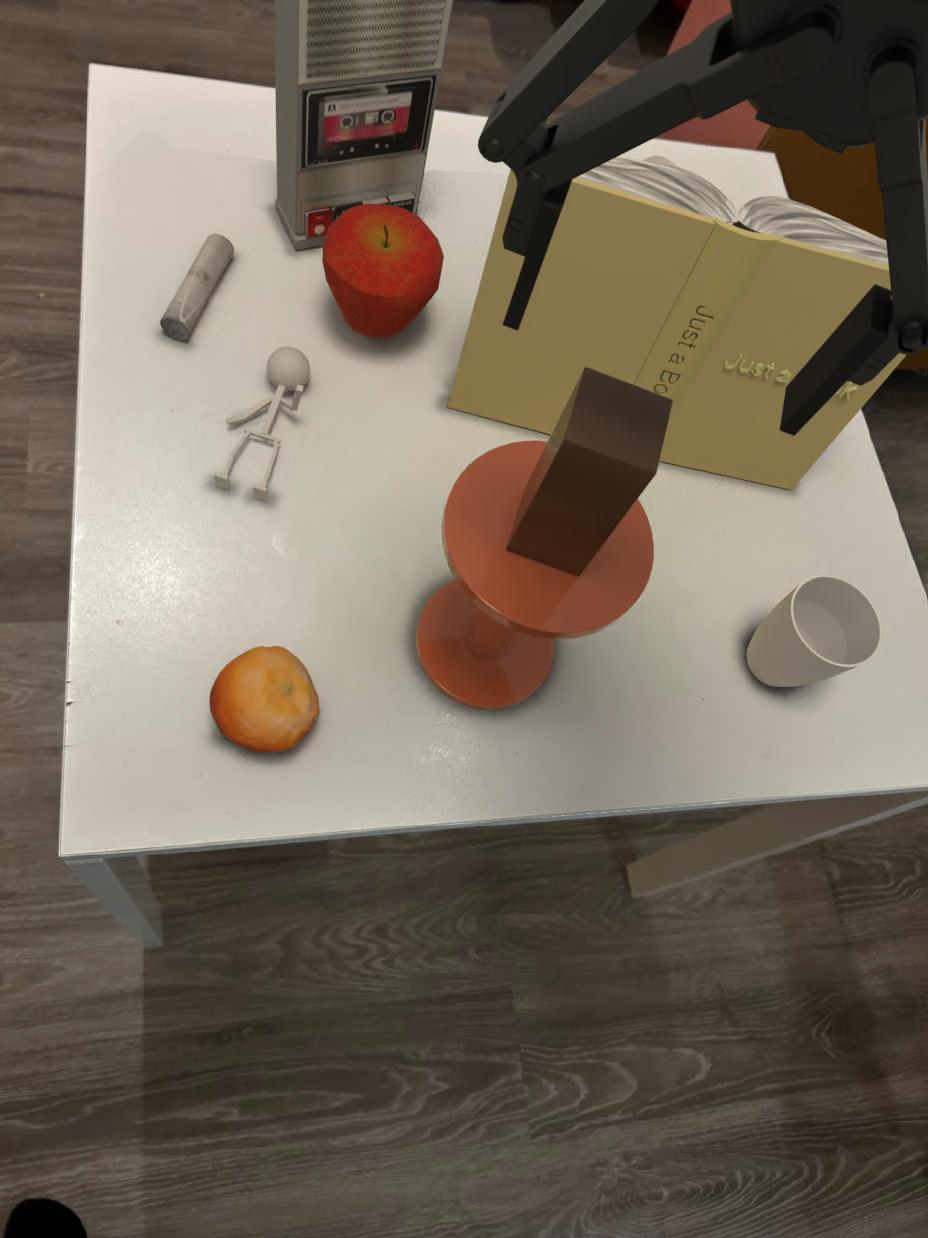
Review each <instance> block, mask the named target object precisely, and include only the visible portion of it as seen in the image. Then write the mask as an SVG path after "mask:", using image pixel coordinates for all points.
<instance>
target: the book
mask: <svg viewBox="0 0 928 1238" xmlns="http://www.w3.org/2000/svg"><path fill="white" fill-rule="evenodd" d="M643 160H644V159H642V160H641V159H634V158H626V157H625V158H624V157H616V158H614V159H612V160H610V161H608V162H606V163H604V164H602V165H600V166H598V167H596V168H594V169H592V170H590V171H588V172H586V173H584V174H582V175H580V176H578V177H576V178H574V179H573V180H572V182H571V185H570V188H569V191H568V194H567V197H566V199H565V202H564V205H563V208H562V211H561V214H560V216H559V219H558V222H557V225H556V227H555V230H554V233H553V236H552V238H551V241H550V244H549V247H548V249H547V252H546V255H545V258H544V260H543V263H542V266H541V269H540V272H539V274H538V277H537V280H536V283H535V285H534V288H533V291H532V294H531V296H530V299H529V302H528V305H527V307H526V310H525V313H524V316H523V319H522V321H521V324H520V327H519V330H518V331H517V330H514V329H512V328H509V327H506V326H504V325H503V322H504V319H505V316H506V313H507V310H508V307H509V304H510V301H511V298H512V295H513V292H514V289H515V286H516V283H517V280H518V277H519V274H520V271H521V268H522V265H523V262H524V259H525V257H524V256H521V255H519V254H516V253H514V252H511V251H508V250H506V249H504V246H503V239H502V236H503V233H504V230H505V226H506V223H507V219H508V216H509V213H510V209H511V206H512V202H513V199H514V196H515V192H516V189H517V179H516V176H515V174H514V172H513V171H512V170H511V169H510V168H509V169H510V170H509V173H508V177H507V181H506V184H505V188H504V192H503V196H502V200H501V204H500V207H499V210H498V214H497V218H496V222H495V225H494V229H493V233H492V237H491V241H490V244H489V248H488V252H487V255H486V259H485V263H484V266H483V271H482V274H481V278H480V281H479V285H478V289H477V293H476V296H475V301H474V304H473V307H472V312H471V316H470V318H469V322H468V327H467V330H466V334H465V337H464V342H463V345H462V349H461V352H460V356H459V359H458V363H457V367H456V371H455V375H454V379H453V383H452V386H451V391H450V394H449V398H448V401H447V406H446V408H449V409H452V410H456V411H461V412H463V413H468V414H471V415H475V416H479V417H483V418H487V419H490V420H494V421H499V422H501V423H505V424H509V425H513V426H517V427H521V428H525V429H528V430H532V431H537V432H539V433H543V434H548V435H550V436H551V435H552V432H553V430H554V428H555V426H556V424H557V422H558V420H559V418H560V416H561V414H562V412H563V410H564V408H565V406H566V404H567V402H568V400H569V398H570V396H571V394H572V392H573V390H574V388H575V386H576V384H577V382H578V380H579V378H580V376H581V374H582V372H583V370H584V368H585V367H588V368H591V369H593V370H596V371H599V372H601V373H604V374H607V375H609V376H612V377H614V378H617V379H620V380H622V381H625V382H628V383H630V384H633V385H635V386H638V387H641V388H643V389H646V390H649V391H651V392H654V393H657V394H659V395H662V396H664V397H667V398H670V399H672V400H673V404H672V408H671V412H670V417H669V421H668V425H667V430H666V434H665V439H664V443H663V447H662V452H661V456H660V460H659V462H662V463H668V464H672V465H677V466H681V467H685V468H690V469H695V470H699V471H704V472H709V473H712V474H717V475H722V476H726V477H730V478H731V477H732V478H735V479H740V480H745V481H748V482H749V481H750V482H754V483H757V484H763V485H767V486H772V487H776V488H781V489H785V490H789V491H790V490H791V491H792V490H793V489H794V488H795V486H797V484H798V483H799V482H800V481H801V480H802V478H803V477H804V476H805V475H806V474H807V473H808V471H809V470H810V469H811V468H812V467H813V465H814V464H815V463H816V462H817V461H818V460H819V458H820V457H822V455H823V454H824V453H825V451H827V449H828V448H829V447H830V446H831V444H832V443H833V442H834V441H835V440H836V439H837V437H838V436H839V435H840V434H841V433H842V431H844V429H845V428H846V427H847V426H848V424H849V423H850V422H851V421H852V420H853V419H854V418H855V416H856V415H858V413H859V411H860V410H861V409H863V407H864V406H865V404H866V403H867V402H868V401H869V400H870V399H871V397H872V396H873V395H874V394H875V393H876V391H877V390H878V389H879V388H880V387H881V386H882V384H883V383H884V382H885V381H886V380H887V379H888V378H889V376H890V375H891V374H892V373H893V371H895V369H896V368H897V367H898V366H899V364H901V363H902V361H903V360H904V359H905V358H906V356H907V355H905V354H902V353H899V354H898V355H897V356H896V357H895V358H894V359H893V360H892V361H891V362H890V363H889V364H887V366H886V367H885V368H884V369H883V370H881V372H880V373H879V374H878V375H877V376H876V377H875V378H874V379H873V380H871V381H869V382H867V383H865V384H863V385H861V386H860V385H857V384H854V383H852V382H849V381H847V382H846V383H845V384H844V385H843V386H842V387H841V388H840V389H839V390H838V391H837V392H836V393H835V394H834V395H833V396H832V397H831V398H830V399H829V400H828V402H827V403H826V404H825V405H824V406H823V407H822V408H821V409H820V410H819V411H818V412H817V413H816V414H815V415H814V416H813V417H812V418H811V419H810V420H809V421H808V422H807V423H806V424H805V426H804V427H803V428H802V429H801V430H800V431H799V432H798V433H797V434H796V435H795V436H793V435H790V434H788V433H785V432H782V431H780V423H781V417H782V410H783V404H784V397H785V391H786V386H787V385H788V384H789V383H790V382H791V381H792V379H793V378H794V377H795V376H796V375H797V374H798V373H799V371H800V370H801V369H802V368H803V367H804V366H805V364H806V363H807V362H808V361H809V360H810V359H811V357H812V356H813V355H814V354H815V353H816V352H817V350H818V349H819V348H820V347H821V346H822V345H823V344H824V342H825V341H826V340H827V339H828V338H829V337H830V335H831V334H832V333H833V332H834V331H835V330H836V328H837V327H838V326H839V325H840V324H841V323H842V321H843V320H844V319H845V318H846V317H847V316H848V315H849V313H850V312H851V311H852V310H853V309H854V308H855V306H856V305H857V304H858V303H859V302H860V301H861V299H862V298H863V297H864V296H865V295H866V294H867V292H868V291H869V290H870V289H871V288H872V287H873V286H874V284H876V285H879V286H881V287H884V288H886V289H889V290H891V285H890V275H889V265H888V254H887V244H886V239H884V238H881V237H879V236H877V235H875V234H873V233H870V232H868V231H867V230H864V229H861V228H860V227H857V226H855V225H854V224H851V223H849V222H847V221H844V220H842V219H840V218H838V217H835V216H833V215H831V214H829V213H827V212H825V211H822V210H820V209H817V208H815V207H813V206H811V205H808V204H805V203H801V202H800V201H796V200H793V199H791V198H787V197H783V196H779V195H778V196H777V195H776V196H774V195H766V196H765V195H763V196H759V197H756V198H752V199H751V200H749V201H747V202H746V203H744V204H743V205H742V206H741V207H740V209H739V211H738V210H737V208H736V206H735V205H734V204H733V203H732V202H731V200H730V199H729V198H728V197H727V196H726V195H725V193H723V192H722V191H721V190H720V189H719V188H717V186H715V185H714V184H712V183H711V182H710V181H708V180H707V179H705V178H704V177H702V176H701V175H699V174H697V173H695V172H694V171H693V172H692V171H691V170H688V169H685V168H682V167H680V166H677V165H676V166H677V167H676V166H671V165H667V164H662V163H657V162H651V161H643ZM891 299H892V295H891Z"/></svg>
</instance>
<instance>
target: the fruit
mask: <svg viewBox="0 0 928 1238" xmlns="http://www.w3.org/2000/svg"><path fill="white" fill-rule="evenodd" d="M208 701H209V711H210V714H211V716H212V719H213V721H214V723H215V725H216V727H217V728H218V730H219V731H220V732H221V734H222V735H221V736H220V737H219V739H220V740H223V739H225V738H226V739H228V740H229V741H230V742H232V743H233V744H234V745H237V746H239V747H241V748H243V749H246V750H249V751H254V752H258V753H265V754H267V753H281V752H284V751H287V750H290V749H293V748H294V747H295V746H297V744H299V743H300V742H301V741H302V740H303V739H304V738H305V737H306V736H307V735H308V734H309V732H310V731H311V730H312V728H313V726H314V724H315V723H316V721H317V719H318V717H319V715H320V712H321V710H320V698H319V695H318V692H317V689H316V688H315V685H314V683H313V680H312V676H311V675H310V673H309V671H308V669H307V668H306V666H305V664H304V663H303V662H302V661H301V660H300V658H299V657H298V656H296V655H295V654H293V653H292V652H291V651H290V650H289V649H287V648H285V647H284V646H280V645H273V646H263V645H260V646H255V647H252V648H251V649H248V650H246V651H245V652H243V653H241V654H239V655H237V656H236V657H235V658H233V659H231V660H230V661H229V662H228V663H227V664H226V665H225V666H224V667H222V669H221V670H220V672H219V673H218V674H217V676H216V678H215V680H214V682H213V684H212V686H211V689H210V692H209V700H208Z"/></svg>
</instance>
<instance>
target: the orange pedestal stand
mask: <svg viewBox="0 0 928 1238" xmlns="http://www.w3.org/2000/svg"><path fill="white" fill-rule="evenodd" d="M548 441H549V440H548ZM548 441H547V440H521V441H515V442H510V443H507V444H502V445H500V446H497V447H495V448H494V447H493V448H492V449H490V450H488V451H486V452H484V453H483V454H481V455H480V456H477V458H475V459H474V460H473V461H472V462H470V463H469V464H468V465H467V466H466V467H465V468H464V469H463V471H462V472H461V473H460V474H459V476H458V477H457V479H456V480H455V481H454V483H453V486H452V488H451V490H450V491H449V494H448V497H447V499H446V503H445V506H444V509H443V515H442V519H441V520H442V521H441V542H442V547H443V552H444V553H443V554H444V556H445V559H446V562H447V565H448V568H449V569H450V572H451V575H452V576H453V578H454V580H452V581H450V582H448V583H446V584H445V585H443V586H441V587H440V588H439V589H438V590H436V592H435V593H433V594H432V595H431V596H430V598H429V599H428V600H427V601H426V603H425V605H424V606H423V609H422V611H421V613H420V615H419V617H418V621H417V625H416V630H415V647H416V654H417V659H418V661H419V664H420V665H421V668H422V670H423V672H424V674H425V675H426V677H427V679H429V681H430V683H432V684H433V686H434V687H435V688H436V689H437V690H438V691H439V692H440V693H442V694H443V695H444V696H446V697H447V698H448V699H450V700H452V701H454V702H456V703H458V704H460V705H463V706H465V707H469V708H472V709H477V710H484V711H485V710H486V711H488V710H489V711H492V710H502V709H507V708H509V707H512V706H515V705H518V704H520V703H521V702H523V701H525V700H526V699H528V698H529V697H531V695H533V694H534V693H535V692H536V691H537V690H538V688H539V687H540V686H542V684H543V682H544V681H545V680H546V678H547V676H548V674H549V673H550V670H551V668H552V664H553V662H554V661H553V660H554V655H555V641H554V640H570V639H578V638H582V637H588V636H591V635H594V634H597V633H598V632H601V631H604V630H605V629H607V628H609V627H610V626H612V625H614V624H615V623H616V622H618V621H619V620H620V619H621V618H622V617H624V616H625V615H626V613H627V612H629V610H630V609H631V608H632V607H633V606H635V604H636V603H637V602H638V601H639V599H640V597H641V596H642V595H643V593H644V591H645V590H646V588H647V585H648V584H649V581H650V577H651V574H652V571H653V566H654V560H655V559H654V558H655V543H654V535H653V531H652V527H651V525H650V520H649V517H648V516H647V513H646V511H645V509H644V506H643V505H642V503H641V500H639V498H638V499H637V500H636V502H635V503H634V504H633V506H632V507H631V508H630V510H629V511H628V512H627V514H626V515H625V516H624V518H623V519H622V520H621V522H620V523H619V524H618V526H617V527H616V528H615V530H614V531H613V532H612V534H611V535H610V536H609V538H608V539H607V540H606V542H605V543H604V545H603V546H602V547H601V549H600V550H599V551H598V553H597V554H596V555H595V557H594V558H593V559H592V561H591V562H590V563H589V565H588V566H587V567H586V569H585V570H584V571H583V573H582V574H581V575H580V576H576V575H573V574H570V573H568V572H565V571H562V570H559V569H557V568H554V567H551V566H548V565H546V564H543V563H540V562H537V561H535V560H532V559H529V558H526V557H524V556H521V555H518V554H515V553H513V552H510V551H507V550H506V547H507V544H508V541H509V538H510V534H511V531H512V528H513V525H514V522H515V519H516V515H517V512H518V509H519V506H520V503H521V499H522V496H523V493H524V490H525V487H526V485H527V483H528V481H529V479H530V477H531V475H532V473H533V471H534V469H535V467H536V465H537V463H538V461H539V459H540V457H541V455H542V453H543V451H544V449H545V447H546V445H547V443H548Z"/></svg>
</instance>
